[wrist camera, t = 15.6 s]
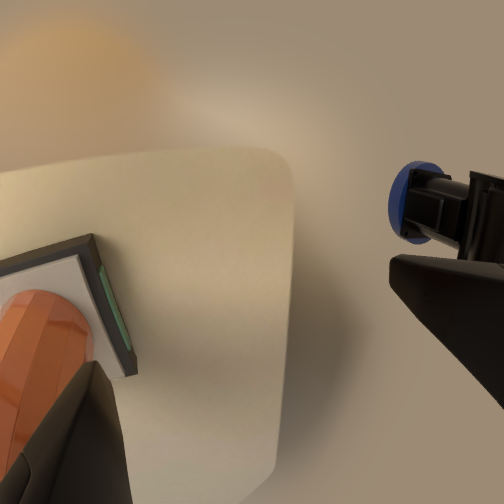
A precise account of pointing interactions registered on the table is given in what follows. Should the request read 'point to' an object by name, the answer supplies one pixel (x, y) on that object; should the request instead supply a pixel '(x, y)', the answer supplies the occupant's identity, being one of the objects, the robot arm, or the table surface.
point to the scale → (76, 295)
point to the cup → (36, 363)
